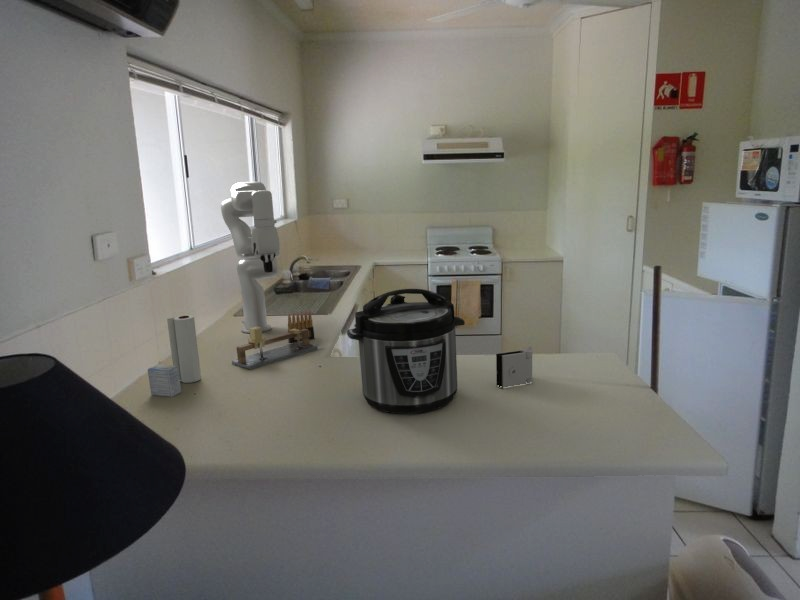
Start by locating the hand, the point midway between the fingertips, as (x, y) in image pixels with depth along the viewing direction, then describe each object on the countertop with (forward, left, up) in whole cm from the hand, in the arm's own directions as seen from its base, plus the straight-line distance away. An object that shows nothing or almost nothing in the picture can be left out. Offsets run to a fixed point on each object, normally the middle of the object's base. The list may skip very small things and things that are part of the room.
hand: (268, 271), depth 220 cm
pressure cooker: (+82, -12, -29) cm, 88 cm away
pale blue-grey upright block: (+18, -53, -29) cm, 63 cm away
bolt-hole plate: (+13, -9, -29) cm, 33 cm away
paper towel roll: (+12, -42, -29) cm, 53 cm away
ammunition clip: (+4, +10, -29) cm, 31 cm away
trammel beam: (+14, -9, -28) cm, 33 cm away
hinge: (+99, +17, -29) cm, 105 cm away
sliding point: (+14, -17, -28) cm, 35 cm away
